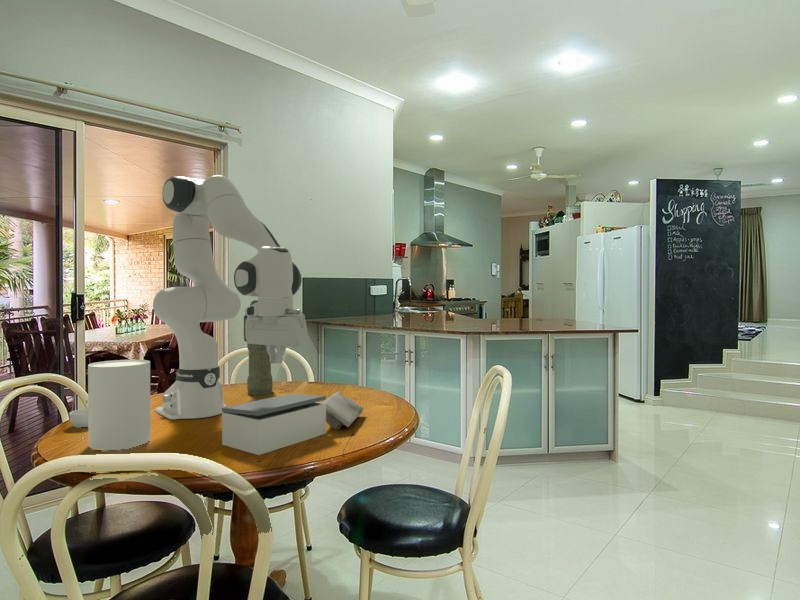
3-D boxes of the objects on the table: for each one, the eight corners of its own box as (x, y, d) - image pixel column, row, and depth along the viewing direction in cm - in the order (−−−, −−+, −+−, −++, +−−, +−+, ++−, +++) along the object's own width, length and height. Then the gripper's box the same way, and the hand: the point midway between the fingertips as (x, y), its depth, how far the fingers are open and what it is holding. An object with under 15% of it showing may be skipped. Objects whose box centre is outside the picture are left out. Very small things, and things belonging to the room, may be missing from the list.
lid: (222, 411, 124) (221, 407, 124) (290, 397, 142) (289, 393, 142) (258, 415, 115) (258, 411, 116) (325, 399, 133) (325, 395, 133)
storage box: (222, 444, 124) (222, 412, 124) (290, 425, 142) (290, 397, 142) (258, 455, 116) (258, 420, 115) (326, 433, 133) (325, 403, 133)
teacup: (74, 434, 133) (74, 417, 133) (57, 429, 139) (56, 412, 139) (112, 426, 142) (112, 410, 142) (95, 421, 147) (95, 405, 147)
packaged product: (356, 421, 152) (329, 402, 153) (365, 408, 151) (338, 389, 153) (341, 437, 134) (311, 416, 135) (351, 422, 134) (320, 401, 135)
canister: (137, 432, 135) (136, 358, 135) (160, 441, 126) (159, 362, 126) (80, 443, 125) (79, 363, 124) (100, 455, 116) (100, 368, 116)
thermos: (272, 398, 179) (272, 300, 178) (240, 398, 179) (239, 300, 179) (279, 393, 188) (279, 300, 187) (248, 393, 188) (247, 300, 188)
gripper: (313, 309, 125) (313, 364, 125) (260, 308, 137) (260, 359, 137) (294, 309, 120) (294, 367, 120) (240, 309, 132) (241, 361, 132)
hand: (276, 363), depth 128 cm, fingers closed
